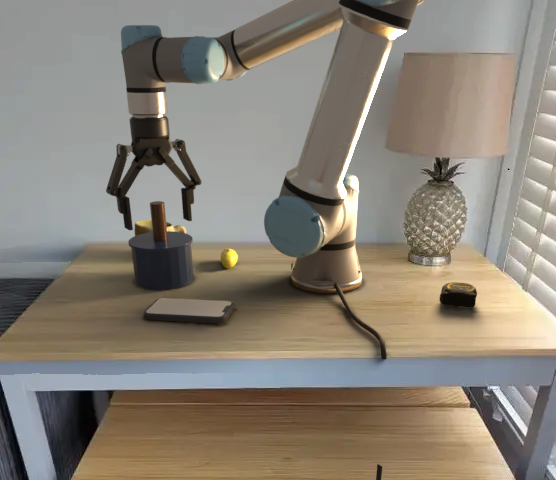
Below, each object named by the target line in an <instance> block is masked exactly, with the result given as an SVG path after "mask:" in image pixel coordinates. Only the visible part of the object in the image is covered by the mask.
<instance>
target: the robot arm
mask: <svg viewBox="0 0 556 480" xmlns="http://www.w3.org/2000/svg"><path fill="white" fill-rule="evenodd" d="M425 1H426V0H291V1H289V2H286V3H285V4H282V5H281V6H278V7H277V8H275V9H273V10H271V11H269V12H266V13H264V14H263V15H261V16H259V17H257V18H255V19H253V20H251V21H249V22H247V23H244V24H243V25H240V26H238V27H236V28H235V29H233V30H230V31H229V32H226V33H224V34H223V35H220V36H217V37H214V36H213V37H210V36H209V37H208V36H203V35H202V36H200V35H199V36H198V35H195V36H179V37H178V36H177V37H176V36H175V37H173V36H172V37H166V36H163V34H162V33H163V32H162V29H161V28H160V26H159V25H154V24H153V25H152V24H138V25H137V24H129V25H127V24H126V25H124V26H122V28H121V30H120V42H121V43H120V44H121V50H120V53H121V56H122V57H121V58H122V65H123V72H124V77H125V84H126V85H125V86H126V99H127V100H126V101H127V109H128V114H129V115H131V117H129V128H130V129H129V130H130V137H131V142H130V144H122V143H117V144H116V149H115V150H116V157H115V160H114V163H113V166H112V168H111V169H112V170H111V173H110V176H109V178H108V179H109V180H108V182H107V186H106V189H105V193H106V194H108V195H110V196H111V197H115V198H116V204H117V211H118V213H119V214H121V215H122V217H123V225H124V229H126V230H128V231H134V227H133V220H132V219H133V218H132V210H131V201H130V197H128V196H127V194H128V192H129V191H130V189H131V188H132V185H133V184H134V183H135V180H136V179H137V177H138V175H139V174H140V172H141V171H142V170H143V169H144V167H153V166H163V165H165V166H166V167H167V168H168V170H170V172H171V173H172V174H173V175H174V176H175V177H176V179H178V181H179V182H180V183H181V184H182V185H183V186H184V187H181V188H180V192H181V205H182V218H183V220H185V221H187V222H192V221H193V216H192V205H194V204H195V192H194V191H195V190H196V188H197V187H198V186H200V185H202V179H201V177H200V175H199V174H198V171H197V170H196V167H195V165H194V163H193V161H192V160H191V157H190V156H189V154H188V151H187V147H186V142H185V140H183V139H180V138H175V140H171V139H170V135H171V134H170V122H169V118H168V116H166V115H167V114H168V111H169V110H168V98H167V88H166V86H167V83H176V84H196V85H208V84H215V83H217V82H219V81H233V80H236V79H239V78H242V77H243V76H244V75H245V74H246V73H247V72H248V71H250V70H252V69H254V68H256V67H258V66H261V65H263V64H266V63H267V62H270V61H273V60H275V59H277V58H279V57H281V56H283V55H285V54H288V53H290V52H293V51H295V50H297V49H299V48H302V47H304V46H306V45H309V44H311V43H313V42H315V41H317V40H320V39H322V38H324V37H327V36H329V35H331V34H333V33H336V32H338V31H339V32H338V36H337V39H336V42H335V45H334V47H333V48H334V49H333V52H332V55H331V57H330V61H329V64H328V67H327V70H326V73H325V76H324V80H323V83H322V87H321V90H320V92H319V96H318V100H317V102H316V105H315V108H314V112H313V114H312V119H311V121H310V124H309V128H308V131H307V134H306V137H305V140H304V144H303V146H302V150H301V152H300V156H299V158H298V159H299V160H298V161H297V162H298V163H297V165H295V167H293V168H291V169H289V170H287V171H286V173H285V176H284V179H283V182H282V185H281V188H280V192H279V195H278V197H276V198H275V199H273V200H272V201H271V203H270V204H269V205H268V207H267V209H266V210H265V213H264V219H263V226H264V231H265V234H266V237H267V238H268V240H269V242H270V244H271V245H272V246H273V247H274V248H275V249H276V250H277V251H278V252H280V253H281V254H283V255H284V256H287V257H291V258H295V259H296V260H295V263H294V261H292V262H291V264H290V269H291V283H292V284H293V286H294V287H296V288H297V289H300V290H303V291H306V292H312V293H319V294H337V295H338V297H339V298H340V301H341V302H342V304H343V306H344V308H345V310H346V311H347V313H348V314H349V316H350V317H351V319H352V321H354V322H355V323H356V324H357V325H358V326H360V327H361V328H363V329H364V330H366V331H367V332H369V333H370V334H371V335H373V336H374V337H375V339H377V341H378V342H379V350H380V352H379V353H380V358H381V360H384V361H385V360H387V359H388V355H387V347H386V340H385V339H384V338H383V336H382V335H381V333H379V331H377V330H376V329H375V328H374V327H372V326H370V325H369V324H367V323H366V322H364V321H363V320H362V319H361V318H359V316H358V315H357V314H356V313H355V312H354V310H353V309H352V307H351V305H350V304H349V302H348V300H347V298H346V295H345V294H344V293H346V292H350V291H353V290H355V289H357V288H359V287H360V286H361V285H362V282H363V280H362V279H363V272H362V269H361V265H360V261H359V258H358V253H357V250H356V239H357V237H356V235H357V219H358V205H359V204H358V203H359V195H360V190H359V179H358V177H357V176H356V175H354V174H352V173H346V172H347V171H348V167H349V164H350V162H351V159H352V156H353V153H354V150H355V147H356V145H357V142H358V140H359V137H360V135H361V132H362V129H363V126H364V123H365V120H366V117H367V115H368V112H369V109H370V106H371V104H372V101H373V98H374V95H375V93H376V90H377V88H378V85H379V83H380V79H381V76H382V73H383V72H384V69H385V65H386V63H387V61H388V57H389V54H390V52H391V49H392V46H393V44H394V42H395V40H396V39H397V37H400V36H402V35H403V34H404V33H406V32H408V30H409V29H410V25H411V23H412V20H413V18H414V15H415V12H416V9H417V7H418V6H419V5H421V4H423V3H424V2H425ZM172 150H173V151H174V152H176V154H177V156H178V159H179V160H180V162H181V164H182V166H183V168H184V170H185V171H186V173H187V175H186V173H184V172H183V170H182V169H181V168H180V167H179V166H178V164H177V163H176V161H175V160H174V159H173V158H172V157H171V155H170V153H171V151H172ZM130 153H132V154H133V155H134V157H133V159H132V160H131V163H130V166H129V167H128V170H127V171H126V173H125V175H124V177H122V176H123V173H124V170H125V167H126V163H127V160H128V157H129V156H130ZM376 464H377V465H376V476H375V480H382V474H383V466H382V465H380V464H379V463H376Z"/></svg>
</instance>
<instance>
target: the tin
mask: <svg viewBox="0 0 556 480" xmlns="http://www.w3.org/2000/svg"><path fill="white" fill-rule="evenodd" d="M130 249H131V257H132V258H131V259H132V264H133V272H134V273H133V275H134V280H135V284H136V286H138V287H140V288H142V289H145V290H152V291H153V290H154V291H165V290H174V289H175V290H176V289H179V288H183V287H186V286H187V285H189V284H191V283H192V282H193V281H194V267H193V253H192V243H191V244H190V245H189V246H186V247H184V248H181V249H176V250H171V251H160V252H150V251H140V250H136V249H133V248H131V247H130Z"/></svg>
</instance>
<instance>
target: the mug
mask: <svg viewBox="0 0 556 480" xmlns="http://www.w3.org/2000/svg"><path fill="white" fill-rule="evenodd" d="M166 226H167V231H173V232H181V233H186V234H187V229H186V227H185V226H183V225H181V224H178V225H175V226H174V225H173V224H172V223H170V222H168V221H166ZM150 232H153V230H152V220H151V219H145V220H137V221H135V223H134V236H137V235H140V234H144V233H150Z"/></svg>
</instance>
